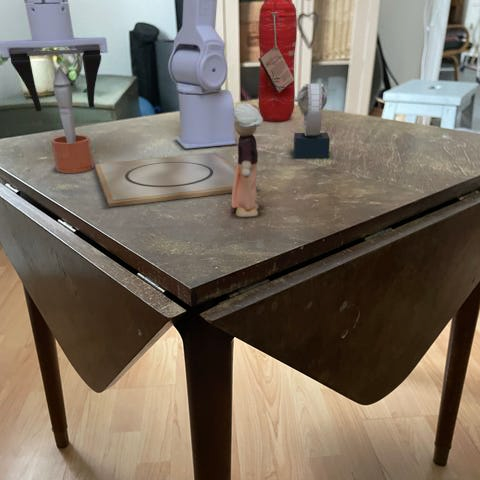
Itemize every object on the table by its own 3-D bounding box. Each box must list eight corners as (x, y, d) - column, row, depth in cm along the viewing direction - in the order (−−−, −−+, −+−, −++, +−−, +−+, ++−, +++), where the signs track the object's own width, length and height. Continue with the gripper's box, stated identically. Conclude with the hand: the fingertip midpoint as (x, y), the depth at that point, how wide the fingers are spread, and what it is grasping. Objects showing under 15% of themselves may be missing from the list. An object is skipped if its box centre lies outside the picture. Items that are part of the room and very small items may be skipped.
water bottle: (290, 127, 110) (294, -18, 97) (251, 125, 111) (251, -17, 98) (297, 115, 120) (302, -17, 107) (262, 114, 121) (262, -16, 109)
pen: (86, 162, 87) (70, 66, 79) (80, 166, 84) (63, 68, 77) (71, 161, 87) (54, 66, 80) (64, 166, 85) (47, 68, 77)
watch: (324, 148, 94) (329, 80, 88) (329, 160, 87) (334, 87, 81) (292, 148, 94) (294, 80, 89) (294, 160, 87) (297, 87, 82)
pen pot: (92, 161, 89) (88, 133, 87) (95, 171, 84) (91, 141, 82) (55, 165, 87) (50, 136, 85) (57, 174, 83) (51, 144, 80)
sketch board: (216, 156, 91) (216, 151, 90) (255, 190, 75) (255, 184, 74) (95, 167, 86) (94, 163, 85) (109, 207, 69) (108, 201, 69)
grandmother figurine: (229, 202, 70) (226, 98, 64) (258, 201, 70) (259, 97, 64) (233, 224, 64) (231, 110, 57) (266, 222, 64) (267, 109, 57)
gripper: (97, 2, 79) (111, 100, 86) (-8, 4, 76) (15, 107, 83) (102, 2, 74) (116, 107, 81) (-11, 5, 70) (13, 115, 77)
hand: (65, 108), depth 81 cm, fingers open, 7 cm apart
